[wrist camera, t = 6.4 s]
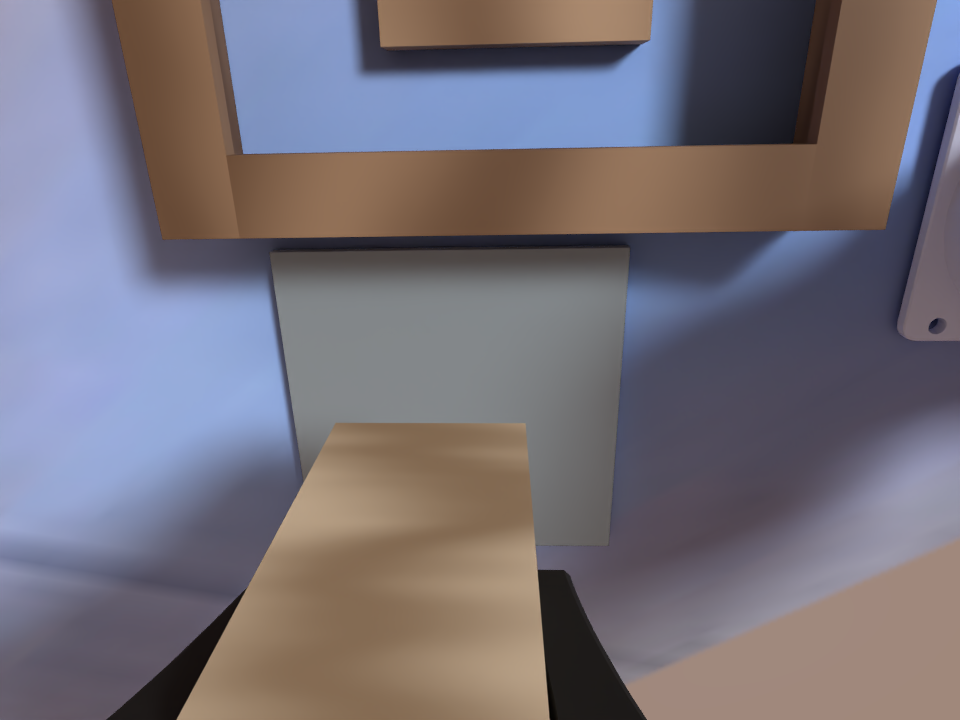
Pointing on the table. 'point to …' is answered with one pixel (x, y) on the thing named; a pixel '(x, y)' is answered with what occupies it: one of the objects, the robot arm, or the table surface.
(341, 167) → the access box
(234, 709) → the beech block
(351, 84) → the table surface
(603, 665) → the robot arm
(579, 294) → the place mat
